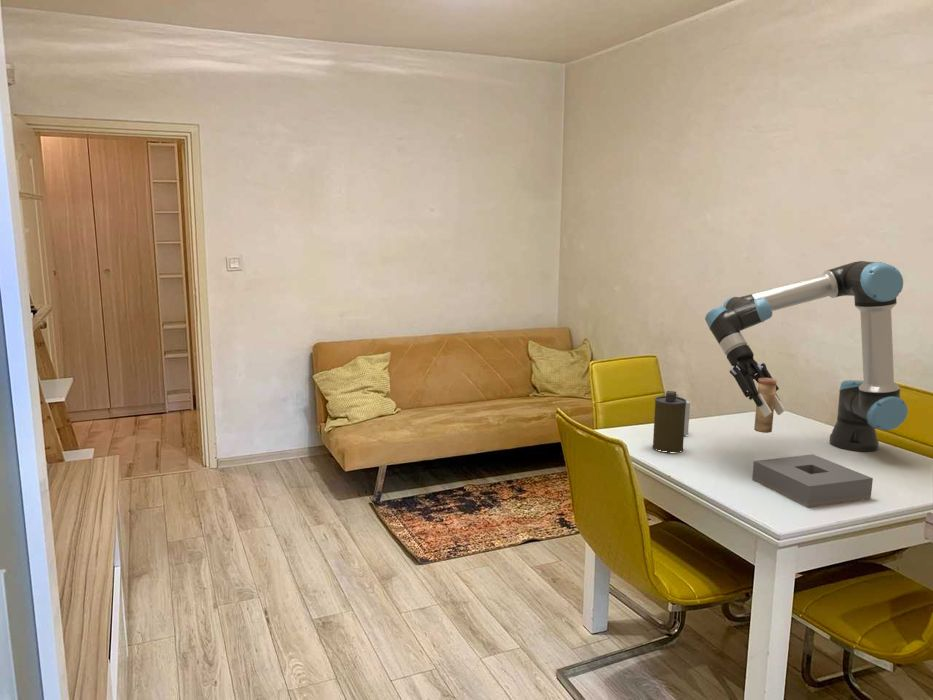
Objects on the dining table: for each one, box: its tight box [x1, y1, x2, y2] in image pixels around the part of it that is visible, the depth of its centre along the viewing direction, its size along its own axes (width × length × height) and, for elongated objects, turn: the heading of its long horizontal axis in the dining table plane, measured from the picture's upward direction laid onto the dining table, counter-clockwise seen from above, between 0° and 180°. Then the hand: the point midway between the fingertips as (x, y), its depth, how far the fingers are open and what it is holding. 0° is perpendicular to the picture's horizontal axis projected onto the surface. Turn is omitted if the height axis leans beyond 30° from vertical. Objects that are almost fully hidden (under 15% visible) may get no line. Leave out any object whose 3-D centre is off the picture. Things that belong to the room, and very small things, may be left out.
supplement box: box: [684, 399, 691, 436], centre depth 260 cm, size 7×7×13 cm
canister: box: [651, 390, 688, 453], centre depth 241 cm, size 11×10×20 cm
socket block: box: [751, 454, 874, 508], centre depth 206 cm, size 22×22×6 cm
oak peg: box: [753, 377, 777, 434], centre depth 216 cm, size 5×5×16 cm
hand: (774, 413), depth 213 cm, fingers closed on oak peg, 5 cm apart
